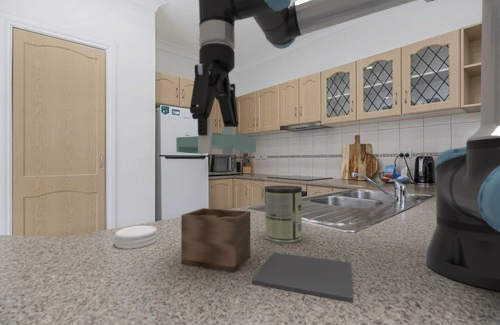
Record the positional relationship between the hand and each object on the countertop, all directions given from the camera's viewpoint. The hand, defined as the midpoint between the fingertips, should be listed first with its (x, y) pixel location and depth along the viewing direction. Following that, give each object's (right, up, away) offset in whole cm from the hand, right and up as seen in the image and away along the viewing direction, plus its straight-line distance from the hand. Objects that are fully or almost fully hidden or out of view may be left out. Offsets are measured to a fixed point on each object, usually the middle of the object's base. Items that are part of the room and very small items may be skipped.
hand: (217, 154), depth 52 cm
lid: (0, +1, 0) cm, 1 cm away
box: (0, -23, 0) cm, 23 cm away
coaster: (-23, -23, +12) cm, 35 cm away
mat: (+17, -23, -7) cm, 29 cm away
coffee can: (+16, -23, +16) cm, 32 cm away
